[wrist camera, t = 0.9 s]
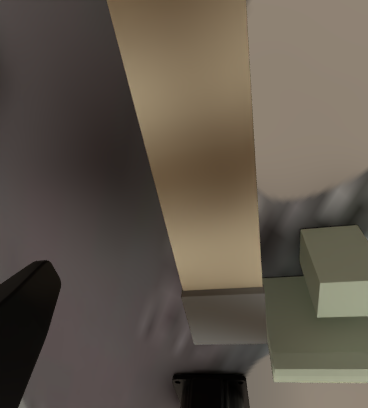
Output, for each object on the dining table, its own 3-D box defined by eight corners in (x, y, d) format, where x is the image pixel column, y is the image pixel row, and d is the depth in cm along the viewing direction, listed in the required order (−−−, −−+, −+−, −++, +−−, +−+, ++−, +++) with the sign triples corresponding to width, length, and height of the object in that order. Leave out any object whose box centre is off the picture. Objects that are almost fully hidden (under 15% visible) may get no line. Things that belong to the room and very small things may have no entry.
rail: (256, 264, 19) (267, 343, 14) (199, 268, 20) (194, 344, 15) (226, -152, 9) (233, -295, 5) (119, -119, 10) (40, -220, 6)
